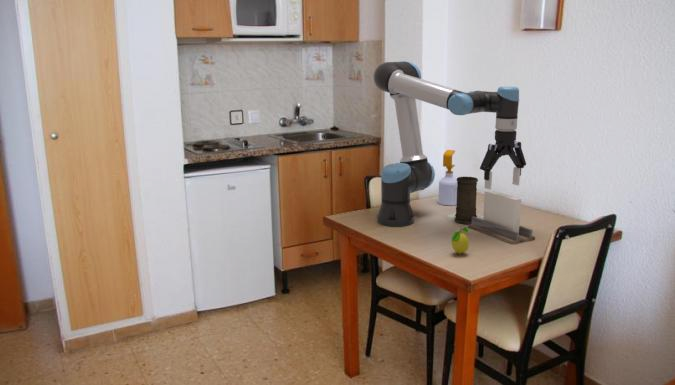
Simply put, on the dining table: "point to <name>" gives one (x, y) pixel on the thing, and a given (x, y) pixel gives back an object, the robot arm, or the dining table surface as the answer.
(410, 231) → the dining table surface
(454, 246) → the lemon
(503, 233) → the track plinth
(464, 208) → the container
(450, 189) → the soap bottle
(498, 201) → the door panel
